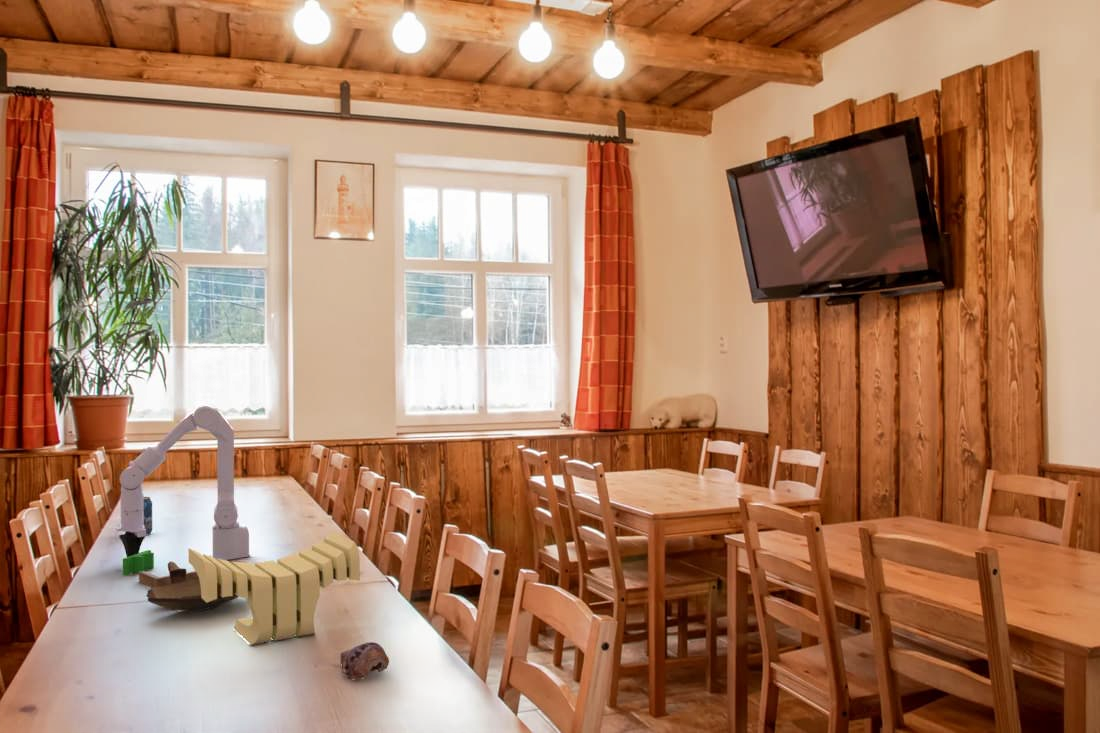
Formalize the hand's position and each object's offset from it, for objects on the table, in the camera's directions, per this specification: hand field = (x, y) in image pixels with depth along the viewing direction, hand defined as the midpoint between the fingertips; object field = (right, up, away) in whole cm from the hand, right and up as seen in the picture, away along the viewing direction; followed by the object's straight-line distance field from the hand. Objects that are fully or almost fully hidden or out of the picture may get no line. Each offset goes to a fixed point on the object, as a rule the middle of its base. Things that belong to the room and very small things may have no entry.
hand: (132, 559), depth 244 cm
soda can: (-19, -2, +45) cm, 49 cm away
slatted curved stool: (+59, -1, -64) cm, 87 cm away
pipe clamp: (+6, -2, -7) cm, 9 cm away
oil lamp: (+35, -2, -42) cm, 55 cm away
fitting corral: (+21, -1, -17) cm, 27 cm away
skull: (+82, -1, -88) cm, 120 cm away
